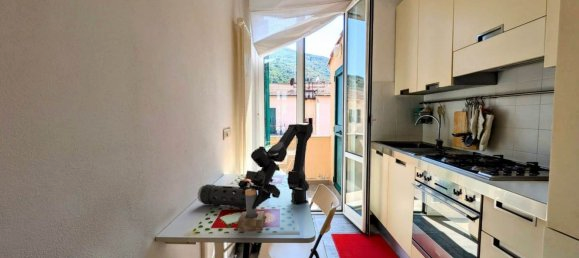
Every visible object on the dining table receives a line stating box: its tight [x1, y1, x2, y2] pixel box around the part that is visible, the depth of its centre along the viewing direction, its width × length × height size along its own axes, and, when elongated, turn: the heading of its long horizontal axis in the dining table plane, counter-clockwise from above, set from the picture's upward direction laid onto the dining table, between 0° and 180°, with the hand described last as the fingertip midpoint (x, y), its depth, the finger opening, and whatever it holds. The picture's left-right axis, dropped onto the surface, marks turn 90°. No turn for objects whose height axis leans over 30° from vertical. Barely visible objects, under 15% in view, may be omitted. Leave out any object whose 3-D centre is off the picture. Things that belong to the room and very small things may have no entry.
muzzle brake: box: [197, 184, 258, 209], centre depth 126 cm, size 10×28×10 cm, turn 71°
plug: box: [245, 189, 258, 218], centre depth 102 cm, size 4×4×14 cm
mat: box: [219, 212, 242, 226], centre depth 110 cm, size 9×9×1 cm
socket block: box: [237, 210, 266, 232], centre depth 102 cm, size 9×9×4 cm
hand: (248, 207), depth 101 cm, fingers closed on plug, 4 cm apart
